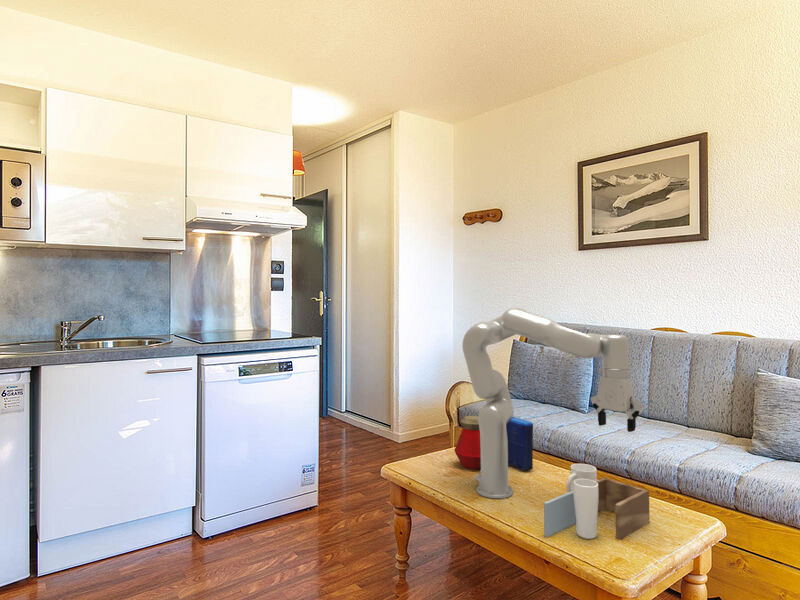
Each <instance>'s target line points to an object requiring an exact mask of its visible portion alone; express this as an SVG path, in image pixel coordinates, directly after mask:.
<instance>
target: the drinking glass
mask: <svg viewBox="0 0 800 600" xmlns="http://www.w3.org/2000/svg"><path fill="white" fill-rule="evenodd" d="M573 495H574V506H575V516H576V524H575V525H576V534H577V535H578V536H579V537H580V538H582V539H585V540H586V539H587V540H591V539H596V537H597V534H598V533H597V532H598V531H597V528H598V527H597V526H598V514H599V513H598V501H599V489H598V483H597V482H595V481H593V480H589V479H576V480H574V484H573Z"/></svg>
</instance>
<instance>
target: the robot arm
mask: <svg viewBox="0 0 800 600" xmlns="http://www.w3.org/2000/svg"><path fill="white" fill-rule="evenodd" d="M515 335H518V336H521V337H524V338H527V339H529V340H532V341H535V342H539V343H540V344H544V345H545V346H547V347H550V348H554V349H555V350H558V351H561V352H564V353H566V354H569V355H572V356H576V357H579V358H581V359H593V358H595V357H597V356H602V368H599V373H601V374H602V376H600V377H599V382H598V387H597V394H596V395H594V396H592V397H590V401H591V403H592V406H593V408H594V409H595V411H596V413H597V422H598V426H605V425H606V424H607V412H606V410H608V411H613V412H618V413H619V412H620V413H625V414H626V415H627V417H628V418H627V420H626V422H627V423H626V424H627V425H626V426H627V427H626V431H627V432H628V433H632V432H635V430H636V427H637V426H636V425H637V424H636V423H637V420H636V419H637V418H638V417H639V416H640V415H641V414H642V412H643V410H644V409H645V405H643V404H642V403H641V402H639V401H638V400H636V399H635V395H634V387H633V384H632V383H633V382H632V380H631V378H630V377H629V376H630V375H629V374H630V373H629V371H630V370H629V367H630V366H629V365H630V364H629V359H630V358H629V337H627V336H626V335H625V334H624V335H623V334H601V333H600V334H599V333H593V332H592V333H591V332H588V333H583V332H580V331H578V330H573V329H570V328H567V327H565V326H563V325H561V324H559V323H557V322H556V321H555V320H553V319H551V318H549V317H544V316H542V315H538V314H534V313H531V312H528V311H527V310H526V309H524V308H520V307H511V308H508V309H507V310H505V311H504V312H503V313H502V315H500V316H499V317H496V318H494V319H492V320H489V321H482V322H477V323H475V324H474V325H473V326H471V327H470V328H468V330H467V331H466V333H465V334H464V335H463V336H464V337H463V339H462V352H463V357H464V359H465V362H466V367H467V370H468V374H469V379H470V382H471V386H472V389H473V391H474V394H475V395H476V397H478V398H479V399H482V400H485V402H486V403H485V404H484V405H483V406H482V407H481V408H480V410H479V413H478V415H477V417H478V422H479V429H480V447H481V469H480V473H479V472H478V473H477V474H476V475H475V476H474V477H473V480H474V481H476V482H478V485H477V486H476V492H477V493H478V494H479V495H480V496H482V497H484V498H490V499H506V498H509V497H511V496H512V495H513V494H514V489H513V487H511V486H510V485H509V465H508V438H507V431H506V424H507V423H508V422H509V421H510V420H511V418H512V417H514V406H513V404H514V403H513V402H512V398H511V395H510V391H509V388H508V384H507V382H506V378H505V377H504V375H503V374H502V373H501V372H500V371H498V370H497V369H493V365H492V362H491V358H490V356H489V354H488V352H487V347H489V346H491V345H495V344H498V343H500V342H502V341H504V340H507V339H509V338H511V337H513V336H515ZM634 408H636V409H635V410H634Z"/></svg>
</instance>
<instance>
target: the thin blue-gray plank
mask: <svg viewBox="0 0 800 600" xmlns="http://www.w3.org/2000/svg"><path fill="white" fill-rule="evenodd" d="M573 525H576V521H575V506H574V495H573V491H571V492H566V493H564V494H561V495H559V496H556V497H554V498H552V499H549V500H547V501H544V502H543V537H545V538H549V537H551V536H553V535H556V534H557V533H559V532H561V531H564V530H565V529H567V528H569V527H572V526H573Z"/></svg>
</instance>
